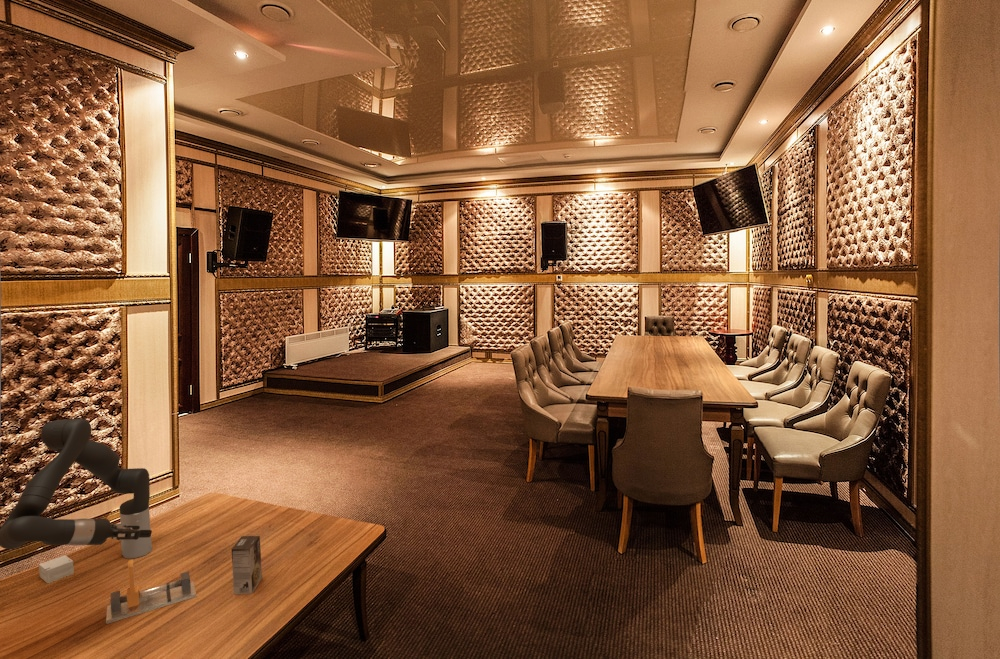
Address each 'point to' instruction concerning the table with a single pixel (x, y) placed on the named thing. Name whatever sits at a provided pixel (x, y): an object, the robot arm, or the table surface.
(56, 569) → the small box
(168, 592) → the pipe stand
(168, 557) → the table surface
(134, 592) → the orange wooden plank
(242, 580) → the coffee box
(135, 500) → the robot arm
